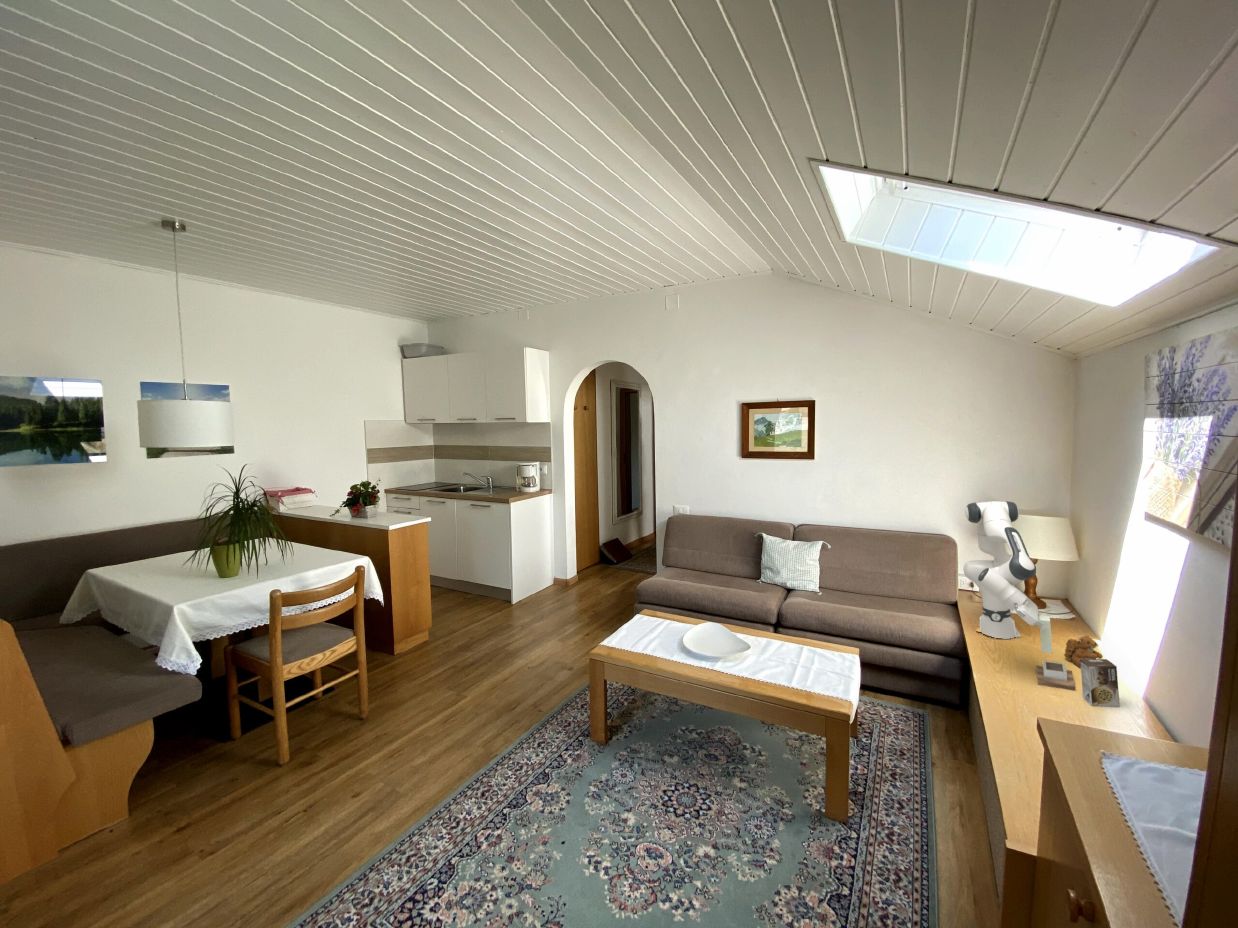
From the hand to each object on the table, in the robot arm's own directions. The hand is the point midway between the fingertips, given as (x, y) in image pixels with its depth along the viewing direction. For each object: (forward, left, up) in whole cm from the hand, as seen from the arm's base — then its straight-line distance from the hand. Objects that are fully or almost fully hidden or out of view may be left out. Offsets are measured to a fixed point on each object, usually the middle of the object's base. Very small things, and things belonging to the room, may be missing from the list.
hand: (1045, 625), depth 223 cm
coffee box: (+15, +15, -24) cm, 32 cm away
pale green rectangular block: (0, 0, -11) cm, 11 cm away
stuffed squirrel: (-21, +12, -24) cm, 34 cm away
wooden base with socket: (0, +2, -23) cm, 24 cm away
